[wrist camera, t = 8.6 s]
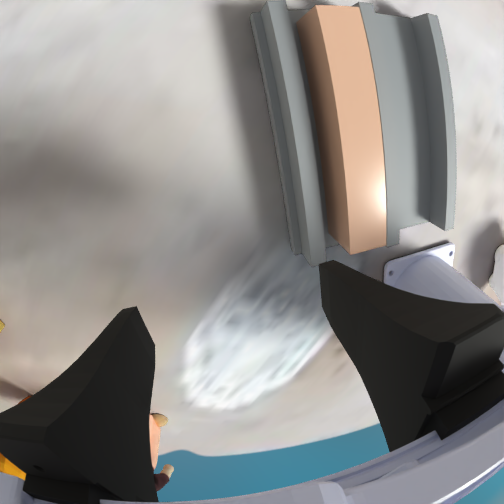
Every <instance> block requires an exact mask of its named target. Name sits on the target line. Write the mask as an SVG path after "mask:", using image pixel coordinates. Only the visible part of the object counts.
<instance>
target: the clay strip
mask: <svg viewBox="0 0 504 504" xmlns="http://www.w3.org/2000/svg"><path fill="white" fill-rule="evenodd" d="M296 25H297V29H298V34H299V38H300V43H301V47H302V52H303V57H304V62H305V67H306V72H307V77H308V83H309V88H310V94H311V100H312V105H313V111H314V118H315V124H316V130H317V137H318V144H319V151H320V159H321V167H322V175H323V183H324V192H325V201H326V211H327V222H328V233H329V234H330V235H331V236H332V237H333V238H334V239H335V240H336V241H337V242H338V243H339V244H340V245H341V246H342V247H343V248H344V249H345V250H346V251H347V252H348V253H349V254H350V255H352V254H356V253H360V252H364V251H367V250H371V249H375V248H379V247H382V246H386V185H385V167H384V153H383V141H382V131H381V122H380V114H379V106H378V99H377V92H376V85H375V79H374V73H373V68H372V62H371V57H370V52H369V47H368V42H367V38H366V33H365V29H364V25H363V21H362V17H361V13H360V9H359V7H351V6H333V5H315V6H314V7H313V8H312V9H311V10H309V11H308V12H307V13H306V14H305V15H304V16H303V17H302V18H301V19H299V20H298V21H297V22H296Z"/></svg>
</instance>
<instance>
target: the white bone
mask: <svg viewBox="0 0 504 504" xmlns="http://www.w3.org/2000/svg"><path fill="white" fill-rule="evenodd" d="M489 285H490V287H491V288H492V289H493V290H494V291H495V293H496V295H497V297H498V299H499V300H500V302H501V306H502V307H503V306H504V244H503V245H501V246H499V247H498V249H497V250H496V252H495V266H494V271H493V274H492V275H491V276H490V278H489Z"/></svg>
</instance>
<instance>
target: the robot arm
mask: <svg viewBox="0 0 504 504" xmlns="http://www.w3.org/2000/svg"><path fill="white" fill-rule="evenodd" d="M454 251H455V245H454V244H453V243H452V242H450V243H446V244H443V245H440V246H437V247H434V248H431V249H428V250H424V251H421V252H418V253H415V254H411V255H408V256H405V257H401V258H398V259H395V260H391V261H389V262H387V263H386V264H385V267H384V283H382V282H380V281H377V280H375V279H373V278H371V277H368V276H366V275H364V274H362V273H360V272H358V271H356V270H354V269H352V268H350V267H348V266H346V265H343V264H341V263H339V262H337V261H334V260H332V261H328V262H324V263H320V264H319V272H320V285H321V298H322V307H323V310H324V312H325V314H326V317H327V319H328V321H329V323H330V325H331V327H332V329H333V331H334V332H335V334H336V336H337V337H338V339H339V340H340V342H341V344H342V345H343V347H344V349H345V350H346V352H347V353H348V355H349V357H350V358H351V360H352V361H353V363H354V365H355V366H356V368H357V370H358V372H359V374H360V376H361V378H362V380H363V382H364V385H365V387H366V389H367V391H368V394H369V396H370V398H371V401H372V403H373V406H374V408H375V411H376V413H377V416H378V419H379V421H380V424H381V427H382V429H383V432H384V435H385V438H386V442H387V445H388V448H389V451H390V453H387V454H385V455H383V456H380V457H378V458H376V459H373V460H371V461H368V462H365V463H363V464H360V465H358V466H355V467H352V468H349V469H346V470H344V471H341V472H338V473H335V474H331V475H328V476H325V477H322V478H318V479H315V480H312V481H308V482H304V483H300V484H297V485H293V486H289V487H284V488H280V489H275V490H270V491H265V492H260V493H254V494H249V495H243V496H236V497H228V498H220V499H211V500H200V501H184V502H158V497H157V492H156V487H155V482H154V475H153V468H152V460H151V448H150V430H149V417H150V405H151V397H152V388H153V380H154V372H155V344H154V342H153V340H152V338H151V336H150V334H149V332H148V330H147V328H146V326H145V324H144V321H143V319H142V317H141V315H140V313H139V311H138V308H137V306H136V307H131V308H126V309H123V310H121V311H120V312H119V313H118V314H117V315H116V317H115V318H114V319H113V320H112V321H111V322H110V323H109V325H108V326H107V327H106V328H105V329H104V330H103V332H102V333H101V334H100V335H99V336H98V337H97V339H96V340H95V341H94V342H93V343H92V344H91V345H90V346H89V347H88V348H87V350H86V351H85V352H84V353H83V354H82V355H81V356H80V357H79V358H78V359H77V360H76V361H75V362H74V363H73V364H72V365H71V366H70V367H69V368H68V369H67V370H66V371H64V372H63V373H62V374H61V375H60V376H59V377H57V378H56V379H55V380H53V381H52V382H51V383H50V384H48V385H47V386H46V387H45V388H43V389H42V390H40V391H39V392H37V393H36V394H34V395H33V396H31V397H30V398H28V399H26V400H25V401H23V402H21V403H19V404H18V405H16V406H14V407H12V408H10V409H8V410H6V411H4V412H1V413H0V453H1V454H2V455H3V456H4V457H5V458H7V459H8V460H9V461H10V462H11V463H13V464H14V465H15V466H16V467H18V468H19V469H20V470H22V471H23V472H24V473H26V477H25V480H23V479H21V478H19V477H17V476H13V475H10V474H6V473H3V472H0V504H453V503H455V502H457V501H458V500H460V499H461V498H463V497H464V496H466V495H467V494H469V493H470V492H471V491H473V490H474V489H476V488H477V487H478V486H480V485H481V484H482V483H484V482H485V481H486V480H488V479H489V478H490V477H492V476H493V475H494V474H495V473H497V472H498V471H499V470H500V469H501V468H503V467H504V306H503V307H502V306H500V305H498V304H497V303H496V302H495V301H494V300H492V299H491V298H490V297H489V296H488V295H487V294H485V293H484V292H483V291H482V290H481V289H479V288H478V287H477V286H476V285H474V284H473V283H472V282H471V281H469V280H468V279H467V278H466V277H464V276H463V275H462V274H461V273H459V272H458V271H457V270H455V269H454V268H453V267H452V265H453V258H454ZM390 271H391V273H389V272H390Z"/></svg>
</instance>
